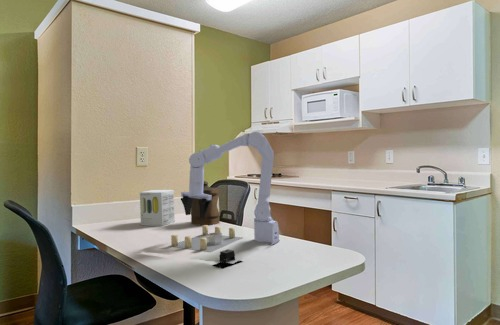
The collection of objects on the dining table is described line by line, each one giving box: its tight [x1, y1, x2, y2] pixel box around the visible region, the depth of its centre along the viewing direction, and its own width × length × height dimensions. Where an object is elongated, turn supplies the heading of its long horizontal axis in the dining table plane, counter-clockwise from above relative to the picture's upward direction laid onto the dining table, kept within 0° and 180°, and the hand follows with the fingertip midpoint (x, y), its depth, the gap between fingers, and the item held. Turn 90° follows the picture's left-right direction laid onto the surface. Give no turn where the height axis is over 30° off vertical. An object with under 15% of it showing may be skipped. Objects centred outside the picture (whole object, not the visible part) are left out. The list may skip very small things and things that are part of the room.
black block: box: [211, 249, 244, 270], centre depth 113 cm, size 12×7×5 cm, turn 137°
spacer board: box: [167, 225, 244, 253], centre depth 139 cm, size 20×24×5 cm
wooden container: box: [190, 180, 220, 226], centre depth 185 cm, size 15×15×22 cm
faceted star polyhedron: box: [208, 231, 223, 245], centre depth 137 cm, size 6×5×4 cm
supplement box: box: [139, 189, 176, 227], centre depth 187 cm, size 13×13×18 cm
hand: (195, 216), depth 142 cm, fingers open, 7 cm apart
